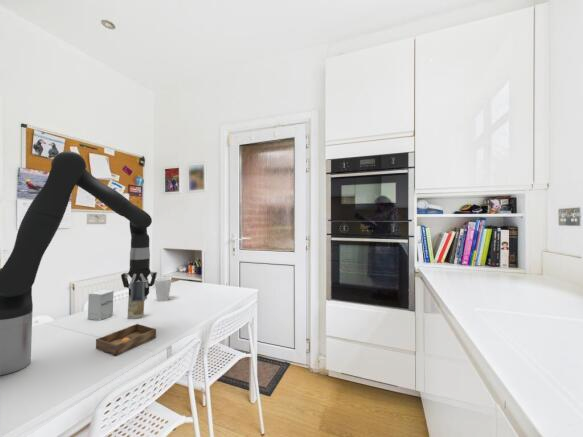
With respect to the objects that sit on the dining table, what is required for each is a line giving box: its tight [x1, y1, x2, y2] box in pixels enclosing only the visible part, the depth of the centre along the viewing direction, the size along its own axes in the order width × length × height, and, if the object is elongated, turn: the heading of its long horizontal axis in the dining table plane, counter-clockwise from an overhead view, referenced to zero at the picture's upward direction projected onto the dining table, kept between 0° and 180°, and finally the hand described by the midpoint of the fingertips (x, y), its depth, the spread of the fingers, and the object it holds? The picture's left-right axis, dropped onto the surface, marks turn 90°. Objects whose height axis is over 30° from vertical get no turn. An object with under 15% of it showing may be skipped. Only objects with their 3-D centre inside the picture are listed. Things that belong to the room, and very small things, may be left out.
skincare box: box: [127, 295, 145, 320], centre depth 126 cm, size 6×4×12 cm
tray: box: [95, 323, 157, 357], centre depth 99 cm, size 16×12×4 cm
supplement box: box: [87, 289, 114, 321], centre depth 125 cm, size 7×7×13 cm
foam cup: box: [154, 276, 172, 302], centre depth 154 cm, size 10×9×13 cm
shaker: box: [131, 281, 148, 303], centre depth 110 cm, size 5×5×8 cm
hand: (139, 296), depth 110 cm, fingers closed on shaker, 5 cm apart
